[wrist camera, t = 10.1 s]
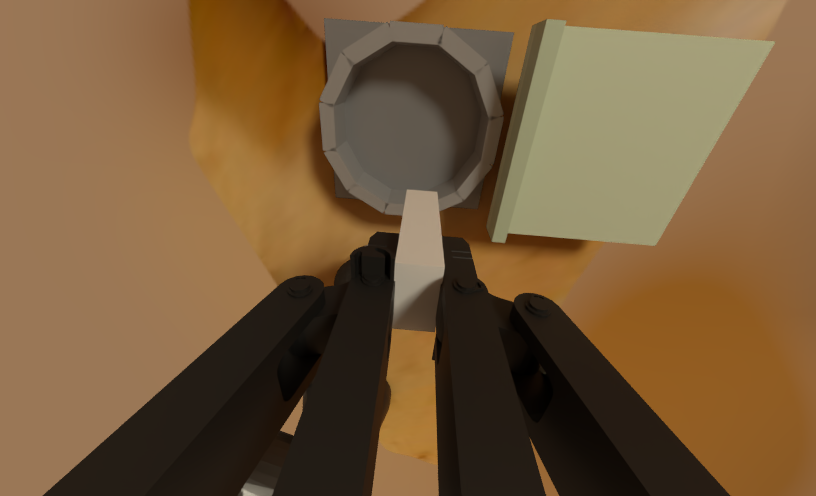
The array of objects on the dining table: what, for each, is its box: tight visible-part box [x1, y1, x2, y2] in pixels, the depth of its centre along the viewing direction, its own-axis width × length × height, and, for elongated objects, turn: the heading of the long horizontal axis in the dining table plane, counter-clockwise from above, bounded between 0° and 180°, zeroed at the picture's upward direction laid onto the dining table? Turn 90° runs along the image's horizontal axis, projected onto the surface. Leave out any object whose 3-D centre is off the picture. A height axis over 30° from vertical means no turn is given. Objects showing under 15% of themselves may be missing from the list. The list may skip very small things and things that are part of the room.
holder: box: [319, 18, 514, 216], centre depth 27 cm, size 16×16×5 cm
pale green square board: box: [486, 19, 775, 246], centre depth 23 cm, size 16×16×3 cm
